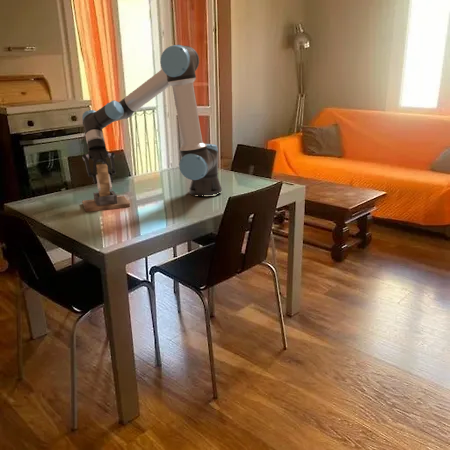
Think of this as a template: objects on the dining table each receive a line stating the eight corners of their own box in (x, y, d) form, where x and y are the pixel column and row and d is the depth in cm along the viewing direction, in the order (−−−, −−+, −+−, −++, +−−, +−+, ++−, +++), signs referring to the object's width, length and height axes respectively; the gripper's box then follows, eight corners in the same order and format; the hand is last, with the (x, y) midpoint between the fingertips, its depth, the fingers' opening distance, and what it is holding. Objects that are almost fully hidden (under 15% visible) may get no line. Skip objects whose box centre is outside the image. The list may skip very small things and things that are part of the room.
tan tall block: (108, 195, 197) (105, 163, 192) (110, 198, 193) (107, 165, 188) (99, 196, 195) (96, 164, 190) (100, 199, 192) (97, 166, 187)
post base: (124, 199, 204) (123, 188, 202) (129, 206, 193) (128, 195, 192) (82, 203, 197) (81, 192, 195) (85, 212, 187) (84, 200, 185)
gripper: (115, 146, 204) (125, 191, 195) (75, 149, 198) (83, 195, 189) (116, 136, 198) (126, 182, 189) (75, 138, 191) (84, 186, 183)
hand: (105, 189), depth 189 cm, fingers closed on tan tall block, 4 cm apart
